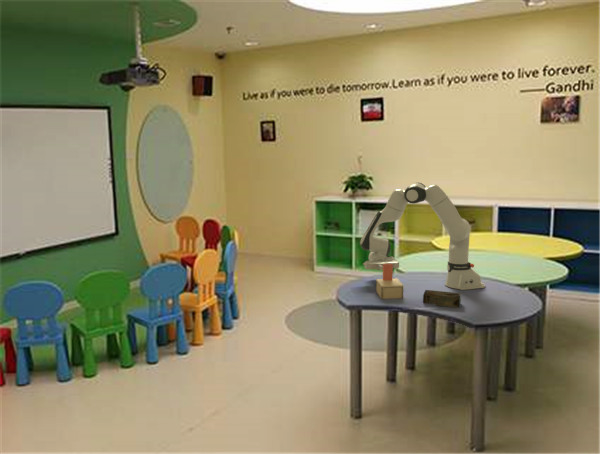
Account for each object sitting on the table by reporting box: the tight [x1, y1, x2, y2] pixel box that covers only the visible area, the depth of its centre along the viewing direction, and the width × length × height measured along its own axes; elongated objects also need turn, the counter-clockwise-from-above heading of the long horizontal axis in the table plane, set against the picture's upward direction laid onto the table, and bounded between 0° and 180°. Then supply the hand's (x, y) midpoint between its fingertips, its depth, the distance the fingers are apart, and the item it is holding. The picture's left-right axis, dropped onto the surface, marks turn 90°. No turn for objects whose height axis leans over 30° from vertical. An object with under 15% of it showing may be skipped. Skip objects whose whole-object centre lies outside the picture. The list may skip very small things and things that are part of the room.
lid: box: [375, 264, 404, 288], centre depth 309 cm, size 14×12×10 cm
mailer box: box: [375, 280, 404, 300], centre depth 310 cm, size 14×12×7 cm
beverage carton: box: [422, 289, 462, 309], centre depth 296 cm, size 8×19×7 cm, turn 70°
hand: (384, 268), depth 322 cm, fingers closed
